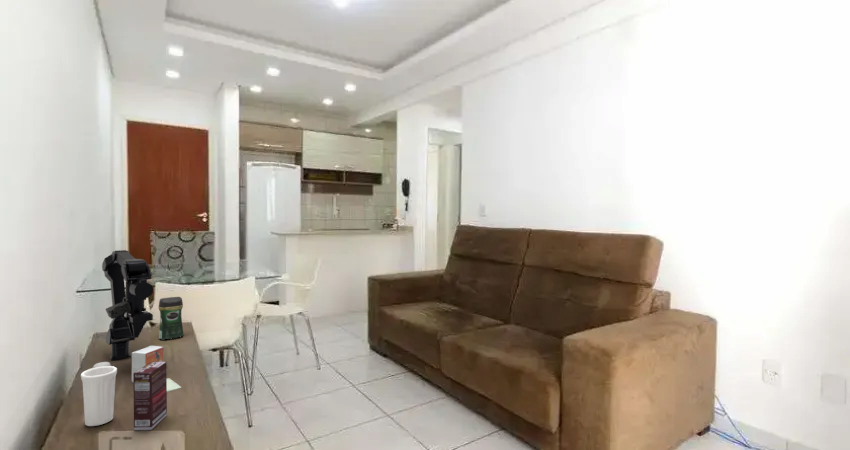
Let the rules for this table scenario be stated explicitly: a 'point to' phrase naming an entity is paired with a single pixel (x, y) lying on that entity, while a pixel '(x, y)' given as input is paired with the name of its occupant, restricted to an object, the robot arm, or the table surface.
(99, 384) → the cup
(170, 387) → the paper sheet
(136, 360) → the small box
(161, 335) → the coffee jar
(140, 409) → the supplement box
